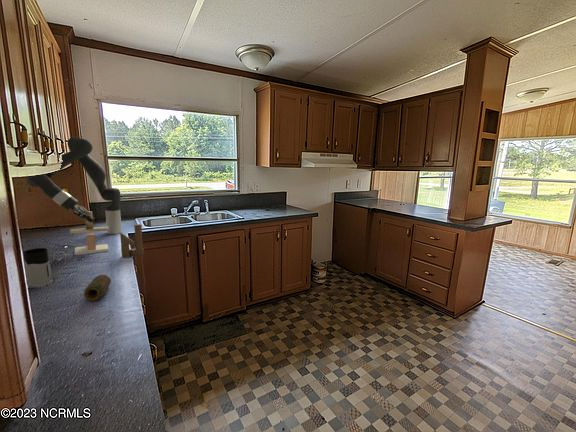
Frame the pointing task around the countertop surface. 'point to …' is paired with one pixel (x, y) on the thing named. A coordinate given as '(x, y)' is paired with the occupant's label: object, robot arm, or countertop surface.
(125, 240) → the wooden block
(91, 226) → the bar
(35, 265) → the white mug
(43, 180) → the robot arm
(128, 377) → the countertop surface
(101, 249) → the stand
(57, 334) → the countertop surface
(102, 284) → the olive brown hollow cylinder
